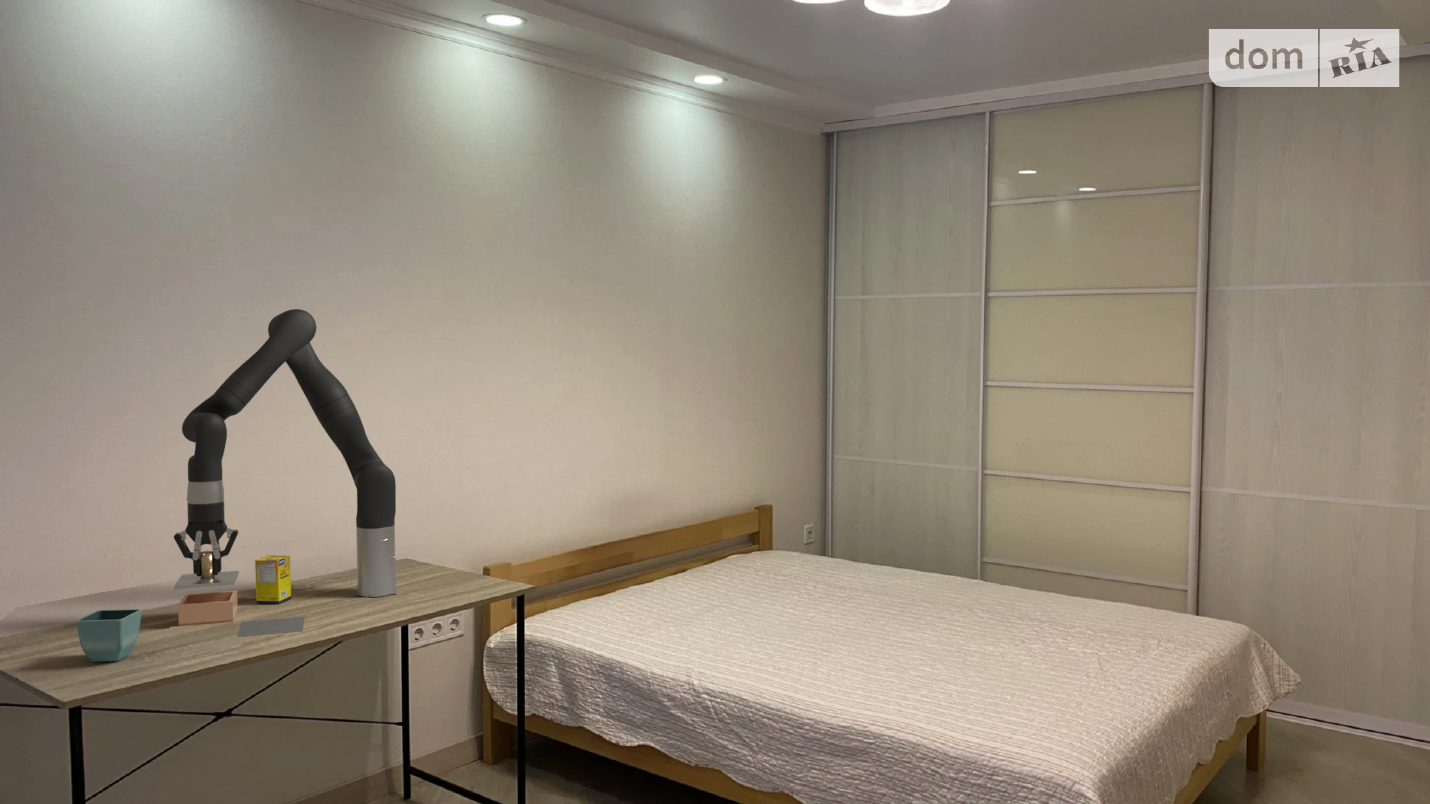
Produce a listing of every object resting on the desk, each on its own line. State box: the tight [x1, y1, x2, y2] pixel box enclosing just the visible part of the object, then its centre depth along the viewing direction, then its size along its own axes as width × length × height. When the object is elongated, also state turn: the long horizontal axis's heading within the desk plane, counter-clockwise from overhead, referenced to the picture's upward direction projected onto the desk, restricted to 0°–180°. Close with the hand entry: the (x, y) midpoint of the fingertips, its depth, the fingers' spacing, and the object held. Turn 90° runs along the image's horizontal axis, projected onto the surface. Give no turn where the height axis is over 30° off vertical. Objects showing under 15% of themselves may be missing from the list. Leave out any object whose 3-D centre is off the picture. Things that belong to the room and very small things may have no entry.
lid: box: [173, 550, 240, 590], centre depth 235 cm, size 12×12×7 cm
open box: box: [177, 590, 239, 627], centre depth 236 cm, size 11×11×5 cm
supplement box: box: [254, 554, 292, 605], centre depth 252 cm, size 6×6×11 cm
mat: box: [237, 616, 305, 638], centre depth 228 cm, size 13×13×1 cm
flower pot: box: [75, 608, 143, 663], centre depth 206 cm, size 9×9×9 cm
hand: (207, 574), depth 235 cm, fingers closed on lid, 3 cm apart
